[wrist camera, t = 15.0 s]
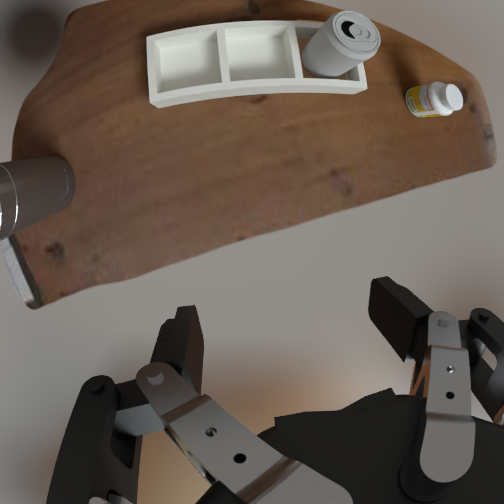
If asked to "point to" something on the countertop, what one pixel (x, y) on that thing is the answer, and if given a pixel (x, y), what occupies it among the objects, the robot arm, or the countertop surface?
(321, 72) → the beverage can
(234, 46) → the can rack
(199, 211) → the countertop surface
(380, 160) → the countertop surface
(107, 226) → the countertop surface
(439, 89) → the supplement bottle
